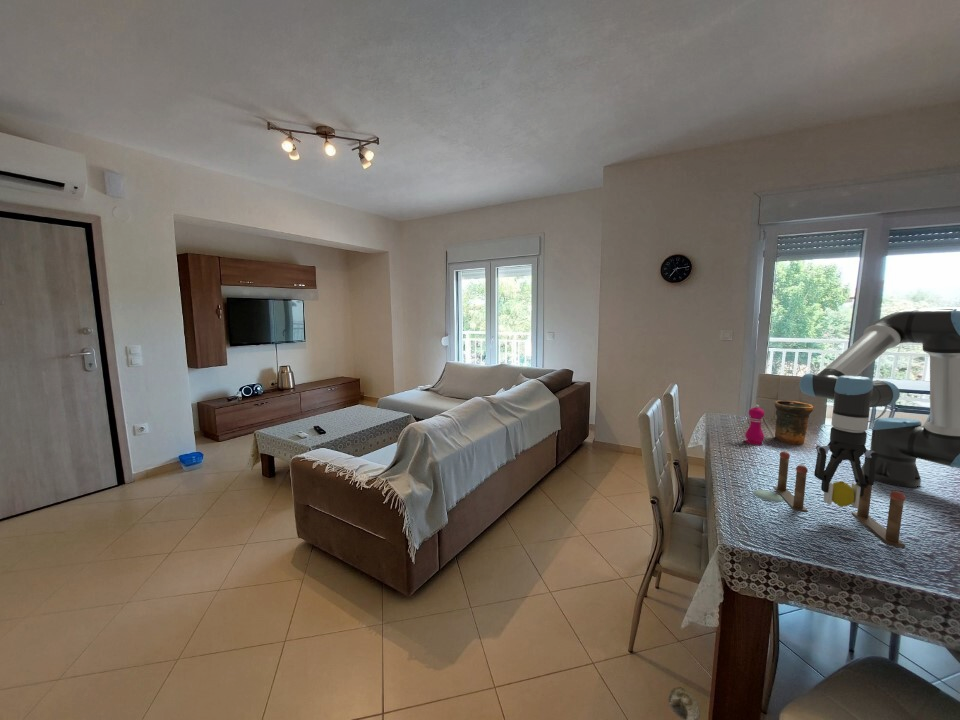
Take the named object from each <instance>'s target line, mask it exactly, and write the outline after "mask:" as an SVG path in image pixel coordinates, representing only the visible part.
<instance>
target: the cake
mask: <svg viewBox="0 0 960 720" xmlns="http://www.w3.org/2000/svg"><path fill="white" fill-rule="evenodd" d="M668 704H669V707H670V709H671V710H672V712H673V713H674V714H675V715H676V716H677V717H679V718H680V719H682V720H699V719H700V716H701V711H700V708H699V703H698V701H697V698H696V697H695V696H694V695H693V693H692V692H691V691H689V690H688V689H687V688H686V689H685V688H684V687H682V686H678V687H674V688H673V689H672V690H671V691H670V693H669V696H668Z"/></svg>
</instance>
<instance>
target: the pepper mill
mask: <svg viewBox="0 0 960 720" xmlns="http://www.w3.org/2000/svg"><path fill="white" fill-rule="evenodd" d="M748 415H749V419H748V420H749V421H750V424H749V427H748V428H747V430H746V431H745V438H746V441H745V442H746V443H747V444H750V445H756V446H761V445H763V441H764V439H765V435H764V432H763V430H762V427H761V426H762V422H763V420H764V419H763V418H764V417H765V411H764V410H763V409H762V408H760V405H759V404H754V407H752V408H750V409H749V411H748Z"/></svg>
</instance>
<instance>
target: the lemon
mask: <svg viewBox="0 0 960 720" xmlns="http://www.w3.org/2000/svg"><path fill="white" fill-rule="evenodd" d="M832 483H833V494H832V502H833V503H834V504H836V505H837V506H839V507H840V508H844V507H848V506H851V504H852V503H853V501H854V491H853V489H852V488H851V487H852V486H851V485H850V484H848V483H846V482H844V481H843V480H839V481H835V482H832Z"/></svg>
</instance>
